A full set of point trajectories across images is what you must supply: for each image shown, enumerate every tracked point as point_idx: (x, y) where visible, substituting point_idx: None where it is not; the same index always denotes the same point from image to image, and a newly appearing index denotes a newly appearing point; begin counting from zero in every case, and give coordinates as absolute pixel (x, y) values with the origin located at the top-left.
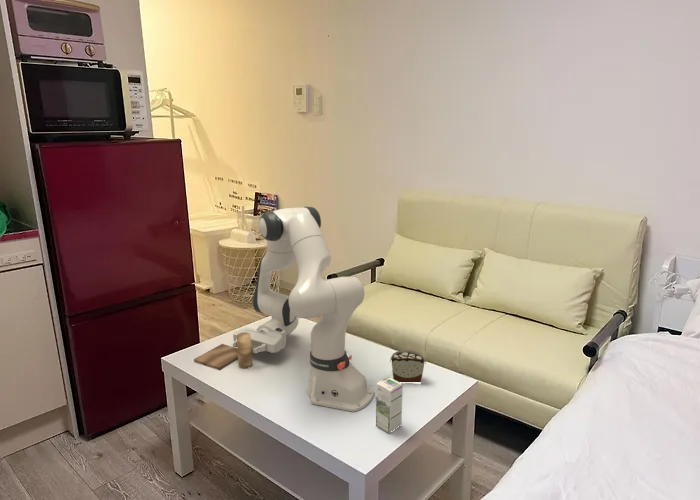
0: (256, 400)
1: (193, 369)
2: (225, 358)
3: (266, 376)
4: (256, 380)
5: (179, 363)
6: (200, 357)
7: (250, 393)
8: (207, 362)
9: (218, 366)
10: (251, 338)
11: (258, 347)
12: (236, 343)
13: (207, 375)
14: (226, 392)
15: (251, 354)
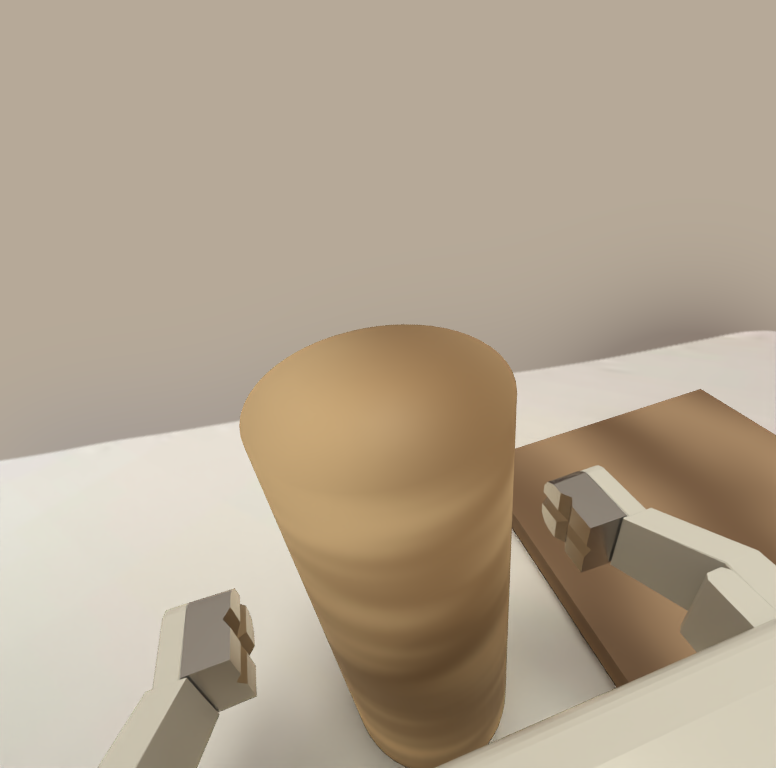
0: (18, 495)
1: (577, 383)
2: None
3: (76, 723)
4: (136, 605)
5: (695, 356)
6: (721, 419)
7: (90, 500)
8: (606, 429)
9: None
10: (536, 743)
11: (155, 678)
12: (555, 490)
13: None
14: (227, 425)
15: (345, 674)
